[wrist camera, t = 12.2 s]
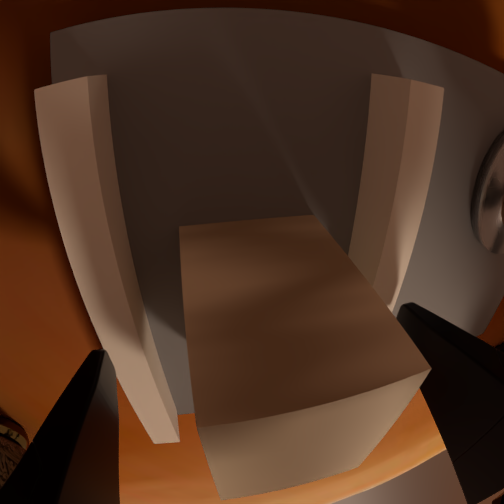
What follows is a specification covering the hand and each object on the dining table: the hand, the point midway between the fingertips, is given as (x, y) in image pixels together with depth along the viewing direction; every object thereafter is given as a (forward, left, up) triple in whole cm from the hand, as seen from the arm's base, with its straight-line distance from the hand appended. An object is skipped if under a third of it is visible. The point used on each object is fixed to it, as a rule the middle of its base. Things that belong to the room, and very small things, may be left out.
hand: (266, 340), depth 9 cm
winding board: (-6, -1, -4) cm, 7 cm away
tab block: (0, 0, -2) cm, 2 cm away
